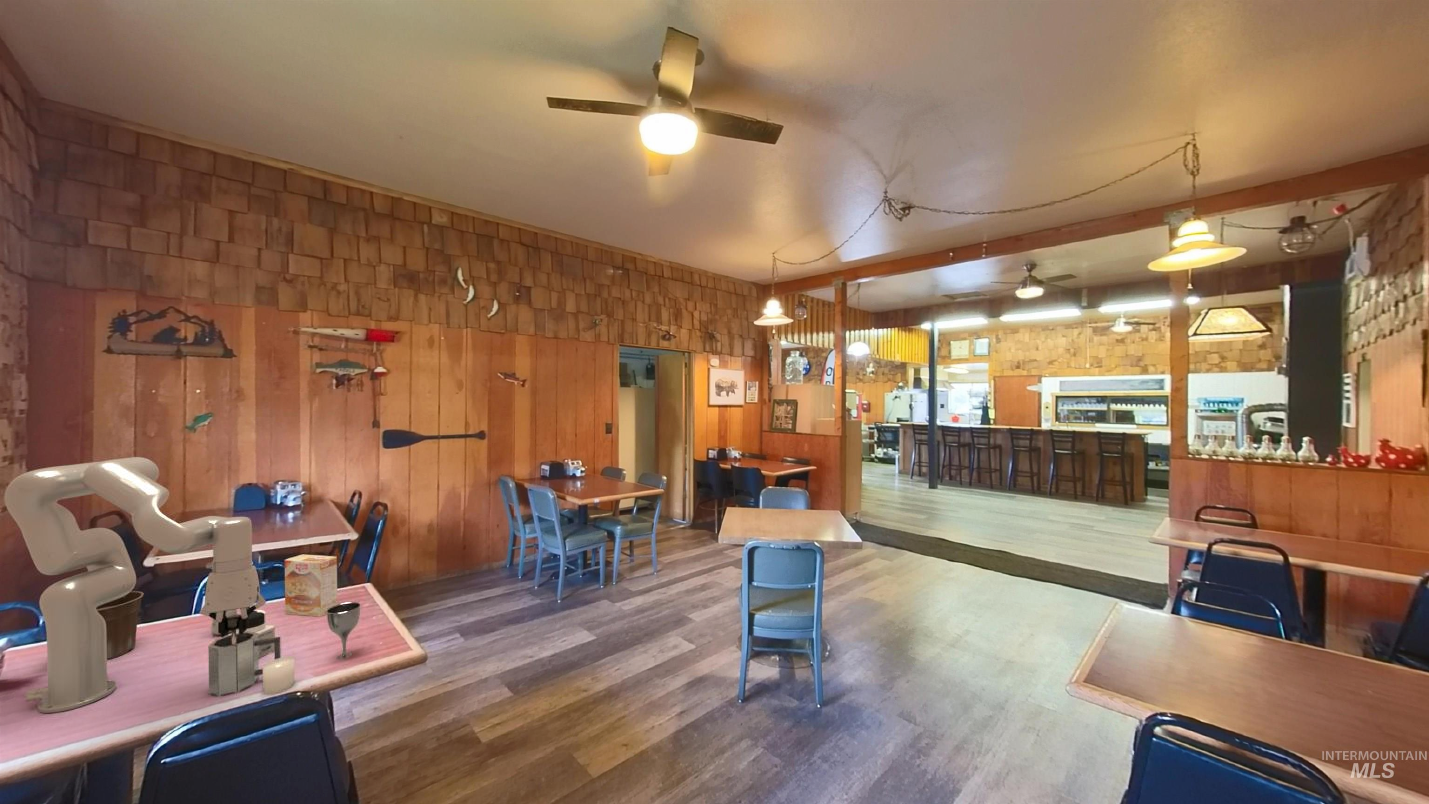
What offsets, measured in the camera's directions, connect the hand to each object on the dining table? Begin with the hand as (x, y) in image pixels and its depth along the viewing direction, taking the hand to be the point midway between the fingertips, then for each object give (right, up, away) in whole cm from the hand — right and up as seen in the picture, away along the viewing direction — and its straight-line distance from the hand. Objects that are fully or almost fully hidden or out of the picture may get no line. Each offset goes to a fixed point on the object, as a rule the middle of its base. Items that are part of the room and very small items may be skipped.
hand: (233, 632), depth 135 cm
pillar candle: (+12, -15, 0) cm, 19 cm away
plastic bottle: (-33, -15, +32) cm, 48 cm away
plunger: (0, -12, 0) cm, 12 cm away
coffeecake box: (-18, -15, +48) cm, 53 cm away
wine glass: (+18, -15, +16) cm, 28 cm away
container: (-11, -15, +17) cm, 25 cm away
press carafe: (+2, -15, +1) cm, 15 cm away
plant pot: (-56, -15, +18) cm, 61 cm away
